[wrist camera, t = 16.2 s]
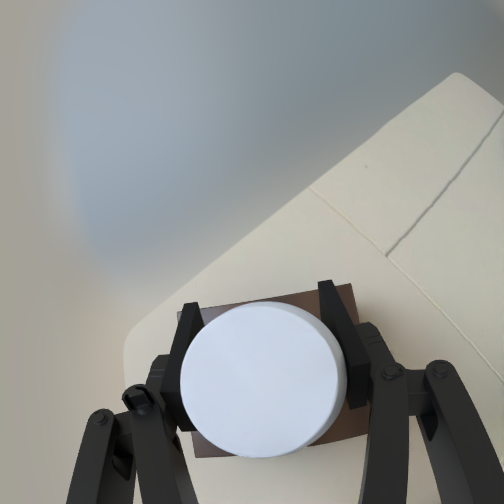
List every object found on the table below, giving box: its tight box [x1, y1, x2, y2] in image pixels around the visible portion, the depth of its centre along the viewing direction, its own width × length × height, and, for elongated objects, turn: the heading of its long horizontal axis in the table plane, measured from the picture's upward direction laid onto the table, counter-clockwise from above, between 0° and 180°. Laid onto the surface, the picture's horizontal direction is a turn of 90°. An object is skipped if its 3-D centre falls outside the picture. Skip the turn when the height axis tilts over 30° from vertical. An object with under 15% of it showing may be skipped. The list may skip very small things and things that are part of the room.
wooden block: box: [177, 283, 370, 458], centre depth 26 cm, size 14×12×8 cm
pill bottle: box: [180, 301, 347, 458], centre depth 14 cm, size 6×6×12 cm
